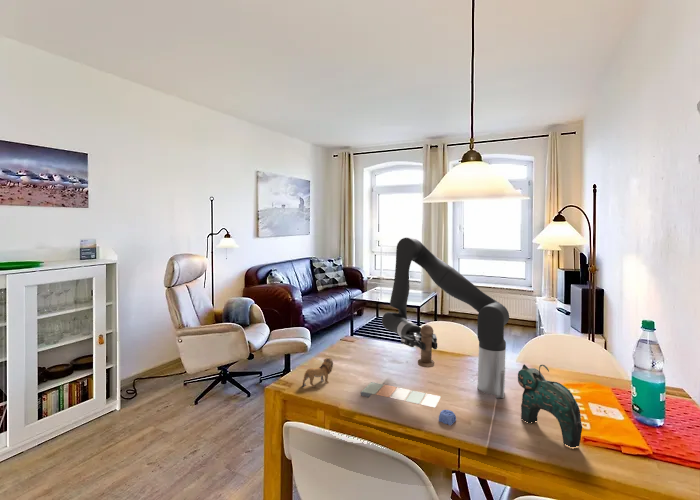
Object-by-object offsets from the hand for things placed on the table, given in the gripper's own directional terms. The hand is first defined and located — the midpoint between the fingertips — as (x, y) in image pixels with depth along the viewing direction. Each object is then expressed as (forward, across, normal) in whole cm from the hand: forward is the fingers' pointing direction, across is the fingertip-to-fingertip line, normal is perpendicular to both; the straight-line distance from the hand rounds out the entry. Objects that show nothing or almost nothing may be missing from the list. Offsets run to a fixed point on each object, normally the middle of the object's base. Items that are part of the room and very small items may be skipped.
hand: (430, 346), depth 125 cm
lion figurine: (-27, -34, +21) cm, 48 cm away
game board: (-8, -7, +21) cm, 23 cm away
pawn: (-3, 0, +7) cm, 8 cm away
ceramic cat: (+22, +28, +21) cm, 42 cm away
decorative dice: (+12, 0, +21) cm, 24 cm away
